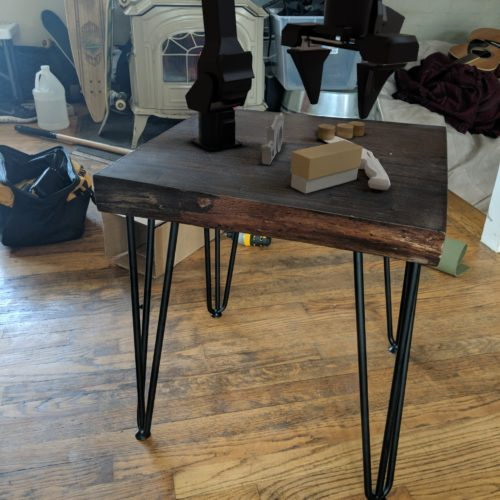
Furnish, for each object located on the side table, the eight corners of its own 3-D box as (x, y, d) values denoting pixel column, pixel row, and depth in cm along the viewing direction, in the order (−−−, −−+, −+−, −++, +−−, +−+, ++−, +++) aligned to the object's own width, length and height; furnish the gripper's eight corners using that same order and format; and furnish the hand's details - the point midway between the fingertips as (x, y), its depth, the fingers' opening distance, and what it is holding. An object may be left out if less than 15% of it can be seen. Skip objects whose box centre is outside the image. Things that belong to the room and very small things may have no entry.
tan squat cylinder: (313, 136, 91) (314, 125, 90) (324, 134, 93) (326, 123, 92) (326, 140, 89) (327, 129, 88) (337, 137, 91) (339, 126, 90)
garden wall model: (271, 166, 78) (273, 127, 76) (259, 165, 79) (261, 126, 76) (284, 143, 89) (286, 109, 86) (274, 142, 89) (275, 108, 86)
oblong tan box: (289, 186, 71) (291, 151, 69) (340, 172, 77) (344, 140, 74) (306, 194, 69) (309, 158, 66) (358, 180, 74) (362, 146, 72)
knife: (317, 126, 96) (359, 127, 96) (316, 135, 97) (358, 136, 96) (335, 178, 69) (393, 179, 69) (334, 190, 70) (391, 191, 70)
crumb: (343, 133, 96) (345, 122, 95) (355, 131, 97) (356, 120, 96) (355, 137, 93) (357, 126, 93) (367, 134, 95) (368, 124, 94)
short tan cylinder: (332, 135, 94) (333, 124, 93) (343, 133, 96) (345, 122, 95) (344, 139, 92) (345, 128, 91) (355, 137, 93) (357, 126, 92)
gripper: (461, -19, 58) (434, 118, 66) (343, -23, 72) (332, 92, 79) (396, -21, 52) (374, 131, 60) (281, -25, 66) (275, 100, 73)
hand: (337, 111), depth 68 cm, fingers open, 9 cm apart
